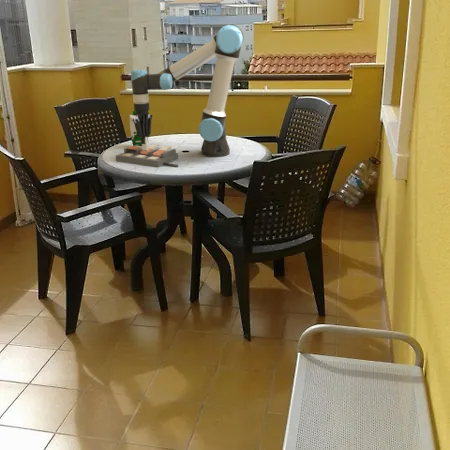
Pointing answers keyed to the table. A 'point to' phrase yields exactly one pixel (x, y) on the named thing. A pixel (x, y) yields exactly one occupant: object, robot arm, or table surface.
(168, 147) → the rocker
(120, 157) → the power strip
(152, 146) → the middle rocker
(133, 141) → the milk carton
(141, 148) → the rocker
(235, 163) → the table surface
